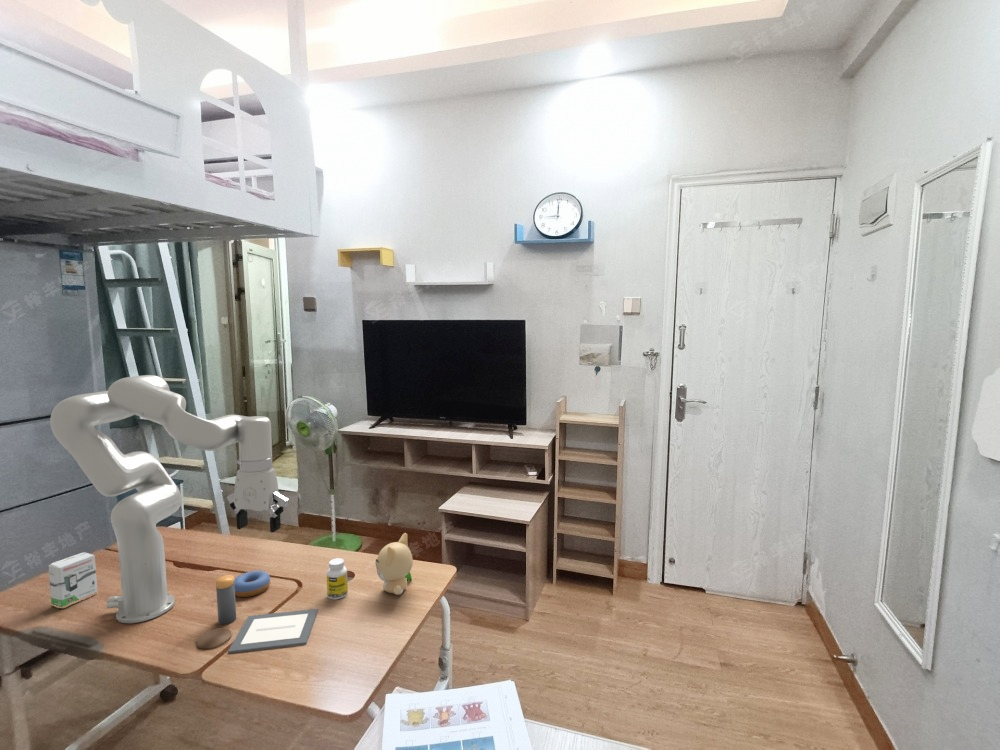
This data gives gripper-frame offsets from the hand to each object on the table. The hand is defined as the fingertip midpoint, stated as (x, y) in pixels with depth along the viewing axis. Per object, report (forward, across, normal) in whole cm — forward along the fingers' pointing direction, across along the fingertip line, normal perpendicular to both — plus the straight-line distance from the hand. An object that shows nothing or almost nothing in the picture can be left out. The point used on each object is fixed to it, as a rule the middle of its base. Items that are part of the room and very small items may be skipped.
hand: (258, 528), depth 125 cm
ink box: (+23, -54, -5) cm, 59 cm away
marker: (+22, -6, -6) cm, 24 cm away
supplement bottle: (+22, +16, +10) cm, 29 cm away
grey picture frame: (+22, +10, -7) cm, 25 cm away
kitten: (+22, +31, +16) cm, 41 cm away
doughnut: (+23, -10, +9) cm, 26 cm away
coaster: (+22, -3, -13) cm, 26 cm away
